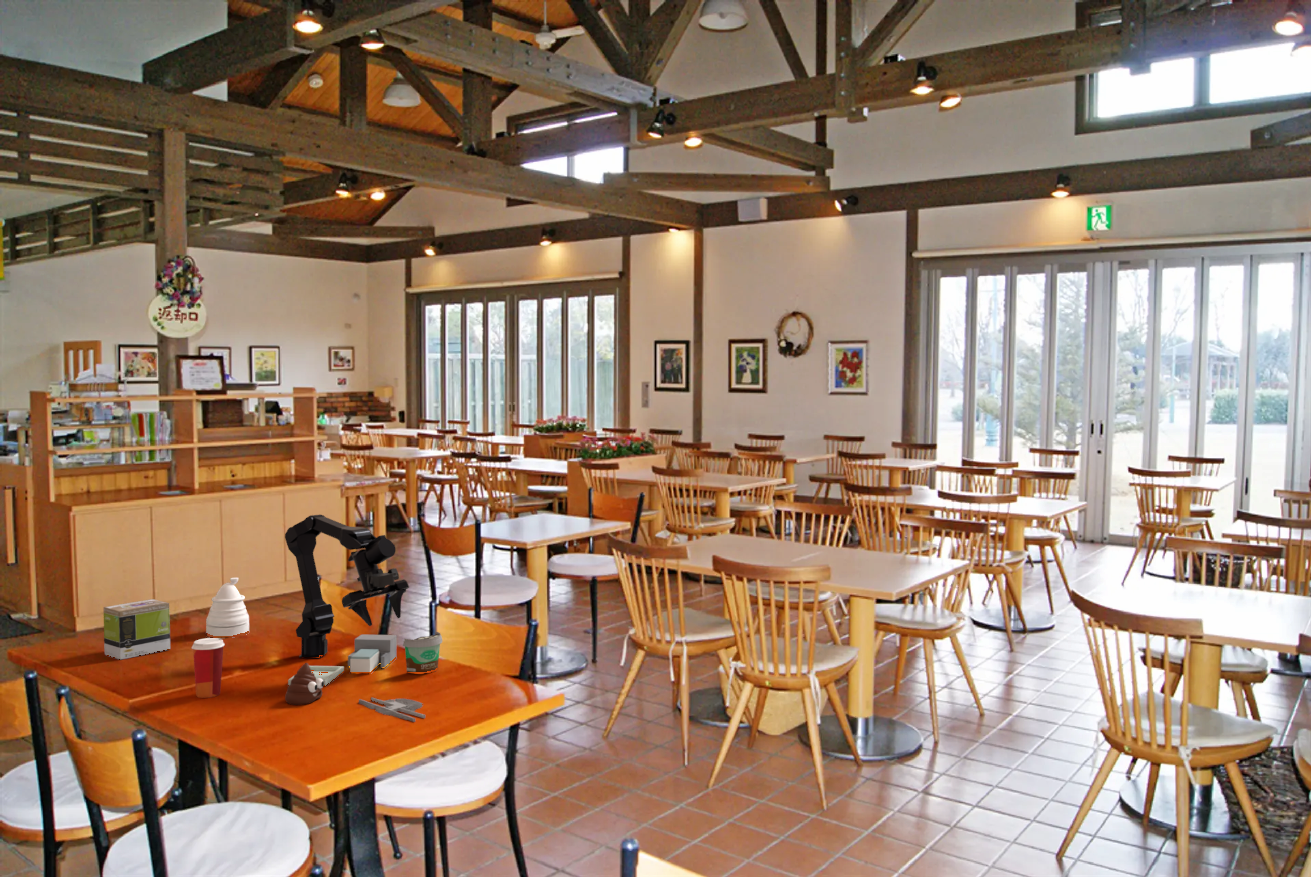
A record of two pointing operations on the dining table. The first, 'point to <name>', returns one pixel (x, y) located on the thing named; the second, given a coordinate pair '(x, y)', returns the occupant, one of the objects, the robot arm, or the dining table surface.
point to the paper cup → (208, 666)
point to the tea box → (136, 628)
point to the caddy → (364, 660)
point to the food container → (422, 653)
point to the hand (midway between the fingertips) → (385, 621)
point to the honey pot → (227, 612)
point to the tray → (326, 677)
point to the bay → (377, 646)
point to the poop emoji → (304, 687)
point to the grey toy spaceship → (395, 707)
